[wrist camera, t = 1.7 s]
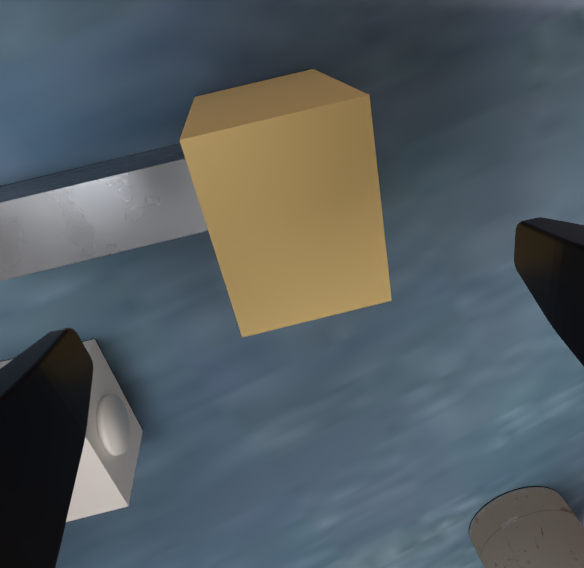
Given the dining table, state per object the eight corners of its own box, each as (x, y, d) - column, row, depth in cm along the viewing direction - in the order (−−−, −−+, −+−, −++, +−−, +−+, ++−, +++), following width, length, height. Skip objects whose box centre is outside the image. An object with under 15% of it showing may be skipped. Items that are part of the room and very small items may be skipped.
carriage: (336, 212, 22) (391, 300, 15) (234, 236, 22) (242, 337, 15) (313, 68, 19) (369, 95, 12) (194, 97, 19) (179, 139, 12)
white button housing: (149, 429, 28) (136, 504, 23) (27, 459, 27) (-9, 541, 23) (102, 337, 24) (76, 405, 20) (-38, 371, 24) (-95, 447, 20)
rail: (340, 174, 22) (356, 194, 19) (2, 255, 21) (-27, 287, 19) (330, 107, 20) (346, 120, 18) (-33, 194, 20) (-71, 219, 17)
